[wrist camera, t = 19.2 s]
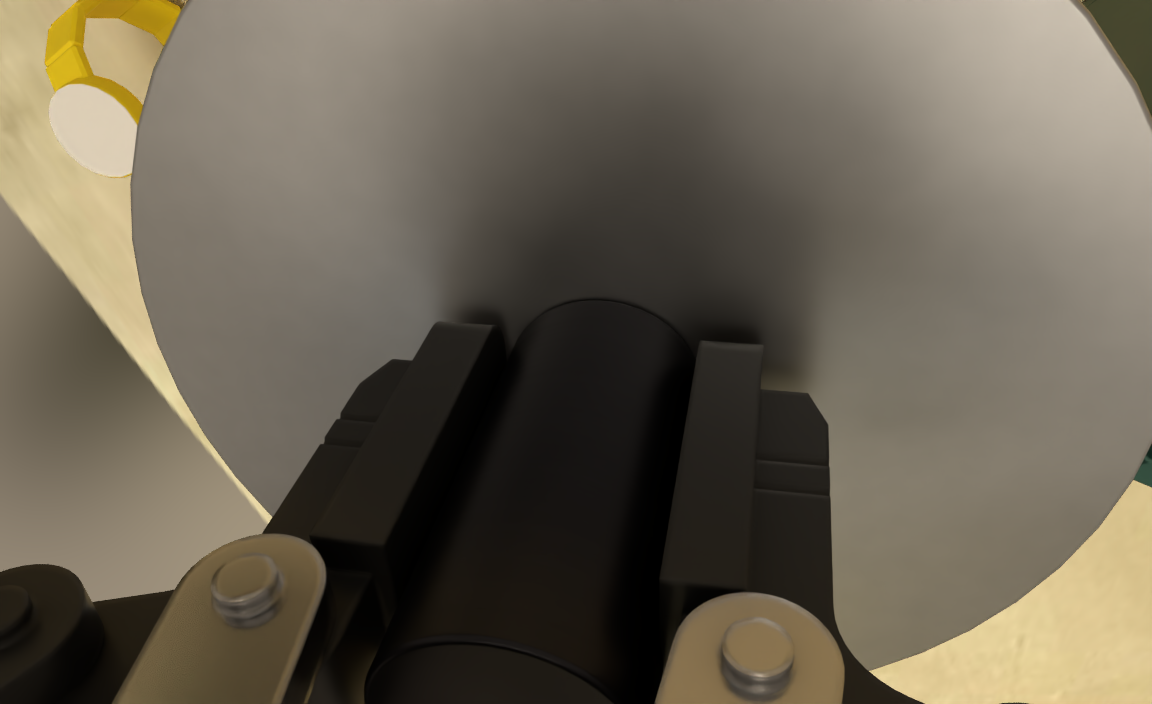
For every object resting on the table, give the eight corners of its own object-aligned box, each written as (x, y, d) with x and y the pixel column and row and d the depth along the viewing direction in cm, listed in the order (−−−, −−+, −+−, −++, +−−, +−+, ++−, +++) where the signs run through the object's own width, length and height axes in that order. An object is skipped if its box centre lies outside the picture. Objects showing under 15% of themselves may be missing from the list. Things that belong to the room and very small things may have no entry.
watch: (112, -3, 29) (-25, 56, 24) (166, -50, 28) (33, 2, 23) (240, 155, 31) (139, 236, 27) (296, 117, 30) (199, 195, 25)
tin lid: (295, 587, 17) (98, 932, 12) (30, -194, 10) (-697, -89, 5) (1016, 684, 14) (1118, 1161, 10) (1365, -257, 7) (2366, -170, 3)
